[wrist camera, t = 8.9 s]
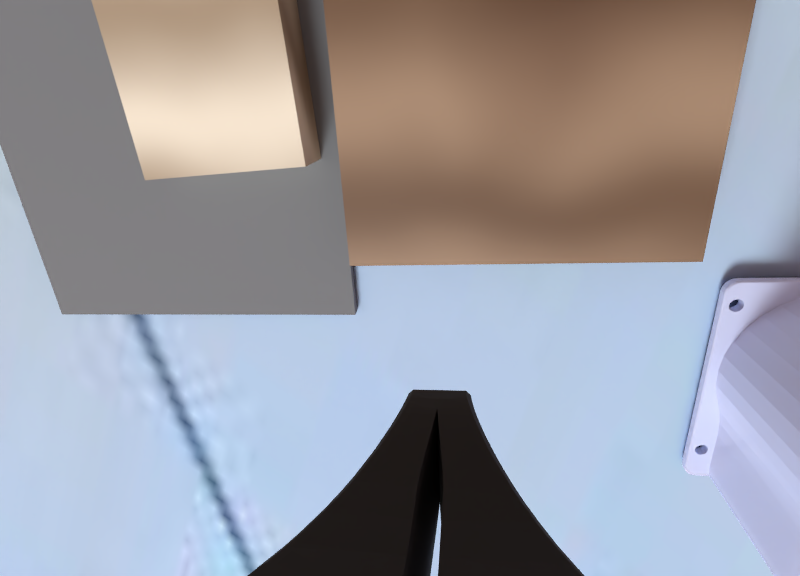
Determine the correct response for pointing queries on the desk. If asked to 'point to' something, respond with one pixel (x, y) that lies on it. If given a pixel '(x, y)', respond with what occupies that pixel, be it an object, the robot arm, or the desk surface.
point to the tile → (211, 84)
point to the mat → (160, 188)
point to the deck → (532, 127)
